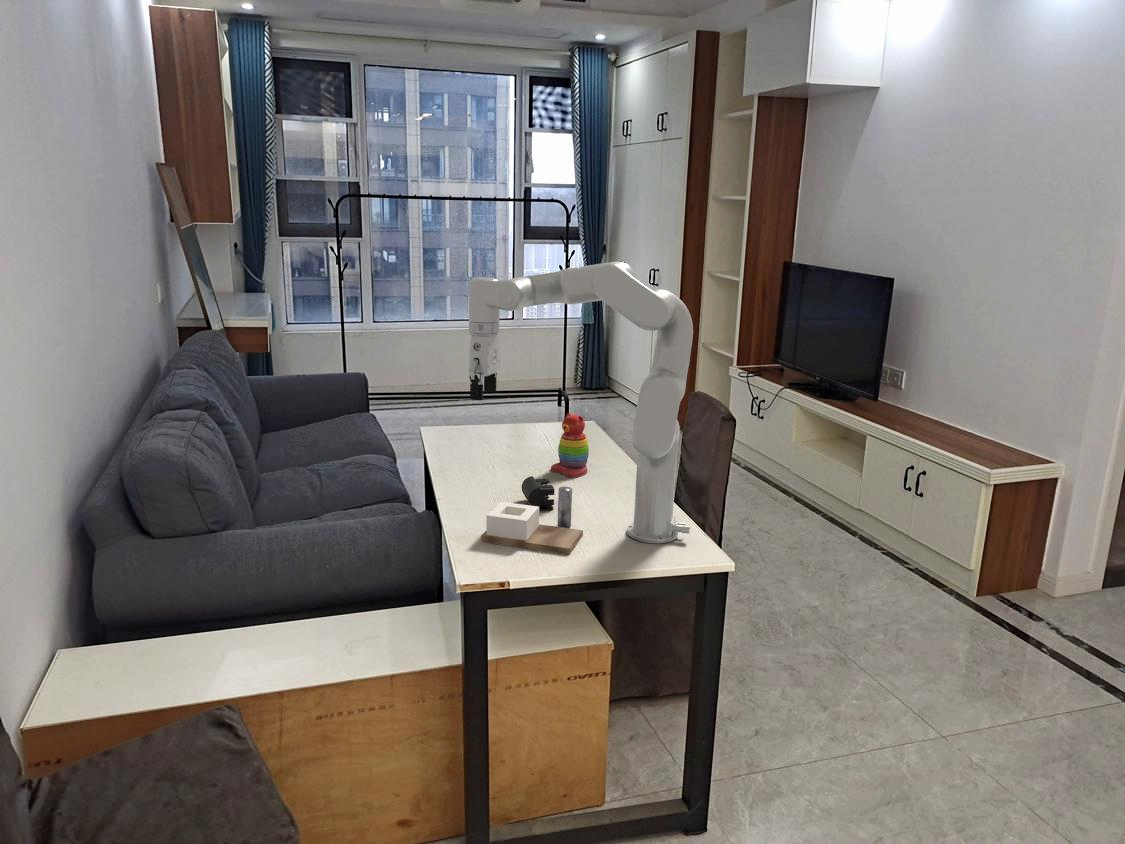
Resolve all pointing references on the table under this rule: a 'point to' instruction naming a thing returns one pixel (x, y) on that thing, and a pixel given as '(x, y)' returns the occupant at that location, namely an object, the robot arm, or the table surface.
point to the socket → (512, 521)
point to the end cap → (538, 493)
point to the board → (542, 539)
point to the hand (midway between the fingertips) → (483, 395)
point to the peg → (564, 507)
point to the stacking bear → (572, 448)
